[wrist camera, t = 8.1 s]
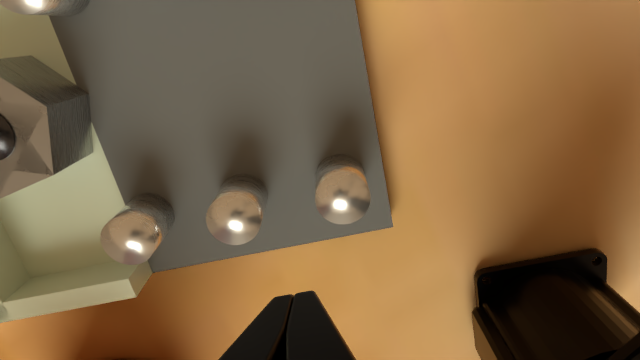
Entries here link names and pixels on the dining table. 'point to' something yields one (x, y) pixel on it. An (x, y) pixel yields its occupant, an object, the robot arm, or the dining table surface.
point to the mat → (228, 110)
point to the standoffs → (233, 197)
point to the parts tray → (58, 213)
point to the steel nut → (39, 123)
